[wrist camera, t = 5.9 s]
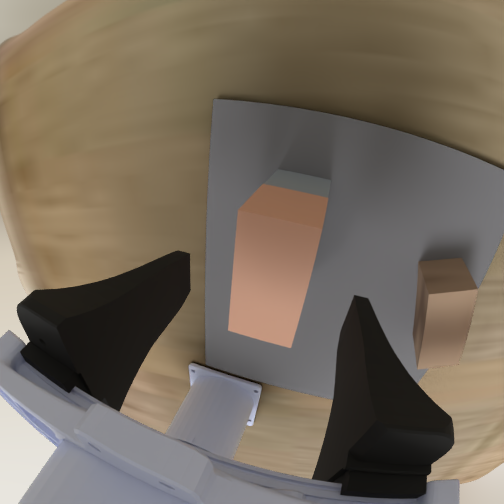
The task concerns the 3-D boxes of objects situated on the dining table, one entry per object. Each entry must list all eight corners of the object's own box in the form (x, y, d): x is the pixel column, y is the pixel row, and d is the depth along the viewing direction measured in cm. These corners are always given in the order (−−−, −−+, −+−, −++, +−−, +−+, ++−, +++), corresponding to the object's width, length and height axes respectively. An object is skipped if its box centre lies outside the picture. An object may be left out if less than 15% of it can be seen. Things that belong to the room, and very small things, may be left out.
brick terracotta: (303, 303, 17) (290, 348, 14) (249, 289, 18) (228, 330, 15) (328, 197, 14) (322, 229, 11) (262, 183, 14) (238, 210, 11)
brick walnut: (449, 330, 19) (458, 364, 16) (412, 334, 20) (417, 369, 17) (461, 257, 16) (478, 288, 13) (418, 261, 17) (428, 294, 14)
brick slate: (311, 271, 20) (302, 304, 17) (265, 260, 21) (249, 290, 18) (331, 180, 17) (327, 199, 14) (278, 169, 17) (261, 185, 14)
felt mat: (395, 407, 25) (395, 410, 25) (207, 361, 29) (205, 364, 29) (519, 177, 13) (522, 179, 12) (216, 98, 17) (213, 98, 16)
